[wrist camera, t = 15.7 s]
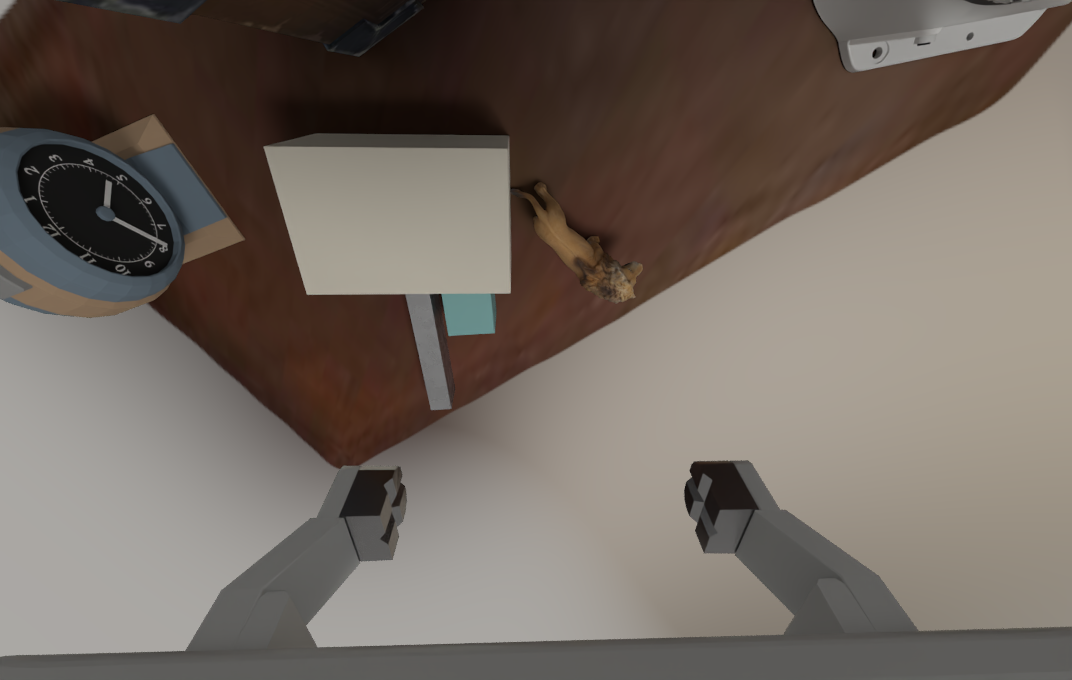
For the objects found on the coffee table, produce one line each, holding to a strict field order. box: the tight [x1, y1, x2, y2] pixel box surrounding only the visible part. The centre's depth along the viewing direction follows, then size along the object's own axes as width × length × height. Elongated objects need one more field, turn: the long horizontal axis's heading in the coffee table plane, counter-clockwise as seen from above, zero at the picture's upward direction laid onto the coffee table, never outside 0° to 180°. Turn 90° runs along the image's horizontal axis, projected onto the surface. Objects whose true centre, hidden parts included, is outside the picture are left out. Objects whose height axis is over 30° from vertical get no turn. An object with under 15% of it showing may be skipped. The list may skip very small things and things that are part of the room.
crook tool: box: [405, 294, 455, 410], centre depth 49 cm, size 8×18×4 cm, turn 2°
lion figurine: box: [510, 182, 643, 303], centre depth 41 cm, size 15×5×9 cm, turn 55°
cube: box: [442, 293, 496, 336], centre depth 47 cm, size 5×5×5 cm
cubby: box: [264, 133, 511, 295], centre depth 39 cm, size 18×12×10 cm, turn 89°
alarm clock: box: [0, 114, 245, 318], centre depth 34 cm, size 14×10×18 cm
